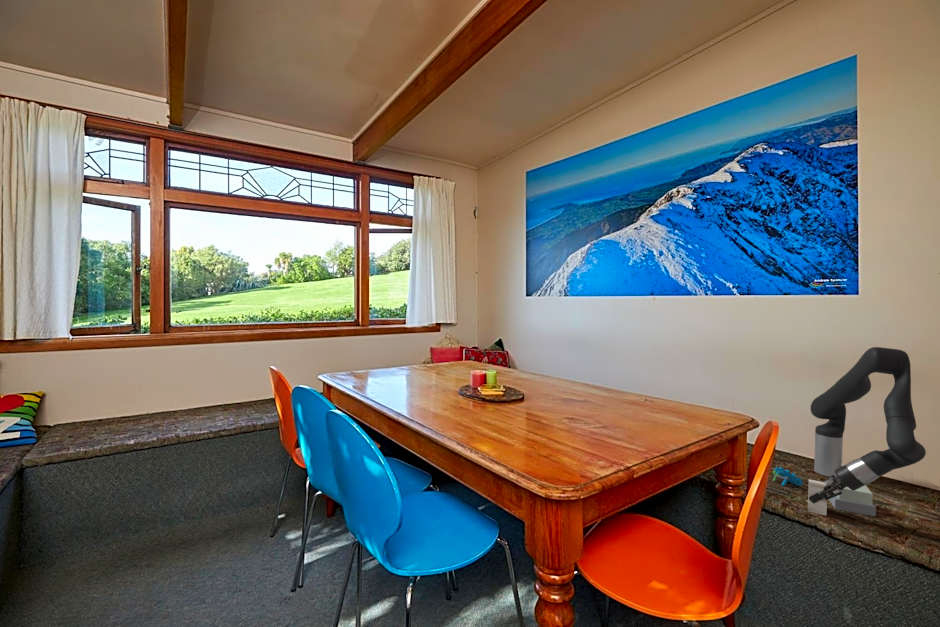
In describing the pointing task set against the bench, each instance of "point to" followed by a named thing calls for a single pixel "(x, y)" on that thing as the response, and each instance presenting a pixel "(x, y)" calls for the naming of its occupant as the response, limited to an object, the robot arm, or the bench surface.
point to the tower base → (853, 506)
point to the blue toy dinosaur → (786, 476)
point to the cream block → (821, 505)
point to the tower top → (857, 495)
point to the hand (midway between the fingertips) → (810, 497)
